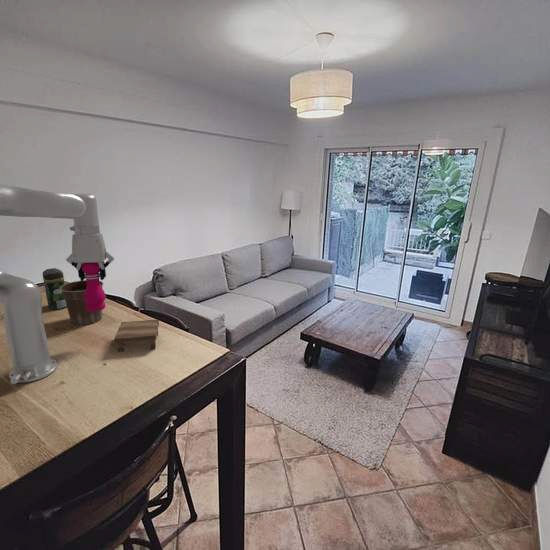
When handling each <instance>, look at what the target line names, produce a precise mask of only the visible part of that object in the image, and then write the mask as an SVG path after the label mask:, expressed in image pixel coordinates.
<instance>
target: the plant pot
mask: <svg viewBox="0 0 550 550" xmlns="http://www.w3.org/2000/svg"><path fill="white" fill-rule="evenodd" d="M99 281H100V285H101V287H102V288H103V287H104V282H103V281H102V280H99ZM86 286H87V281H86V279H84V280H83V281H81V280H76V281H72V282H68V283H65V284H64V285H62V286H61V287H60V290H61V291H62V294H63V297H64V298H65V302H66V305H67V307H66V309H67V312H68V315H69V316H68V317H69V320H70V323H71V324H73V325H74V326H75V325H76V326H86V325H90V324H91V325H92V324H93V322H94V323H97V322H99V321H100V320H102V318H103V310H100V311H88V310H87V309H86V305H87V303H86V302H85V301H84V293H85V290H86Z"/></svg>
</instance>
